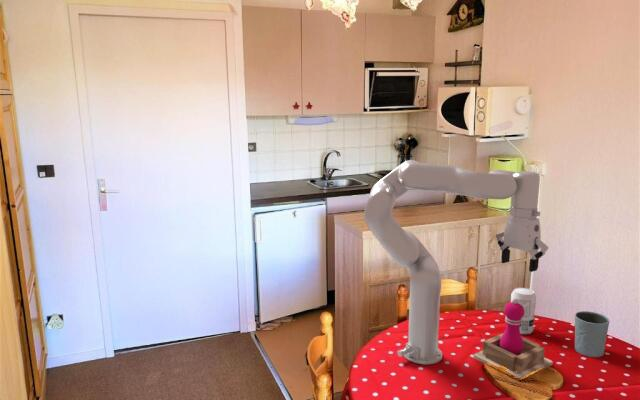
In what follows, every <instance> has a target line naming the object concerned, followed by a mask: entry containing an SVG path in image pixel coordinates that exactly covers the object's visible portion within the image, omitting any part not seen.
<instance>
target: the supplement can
mask: <svg viewBox="0 0 640 400" xmlns="http://www.w3.org/2000/svg"><path fill="white" fill-rule="evenodd" d="M514 298H516V299H517V300H518V303H519V304H521V305H522V306H523V308H524V316H523V317H522V324H520V334H521V335H529V334H531V333H532V332H533V331H534V324H535V315H536V313H535V311H536V302H537V296H536V293H535V291H534V290H533V289H531V288H528V287H515V288H513V290H512V292H511V295H510V302H512V299H514Z"/></svg>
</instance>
